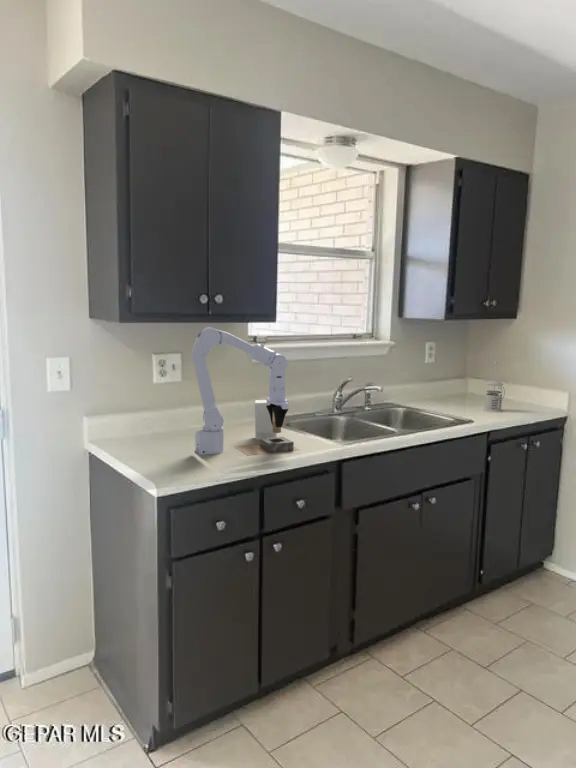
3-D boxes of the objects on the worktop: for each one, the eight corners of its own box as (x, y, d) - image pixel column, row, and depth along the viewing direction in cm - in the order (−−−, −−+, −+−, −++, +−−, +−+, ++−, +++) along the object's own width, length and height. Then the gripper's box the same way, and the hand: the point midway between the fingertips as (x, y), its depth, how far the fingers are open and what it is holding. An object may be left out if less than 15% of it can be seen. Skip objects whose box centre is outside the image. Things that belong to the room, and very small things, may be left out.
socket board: (247, 458, 200) (247, 446, 200) (233, 449, 213) (233, 438, 212) (300, 453, 209) (300, 441, 208) (283, 444, 221) (283, 433, 221)
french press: (478, 409, 301) (481, 360, 298) (494, 407, 307) (497, 360, 303) (493, 412, 293) (496, 362, 289) (509, 411, 298) (513, 361, 295)
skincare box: (276, 438, 230) (276, 399, 228) (276, 442, 224) (277, 402, 222) (254, 438, 230) (255, 399, 228) (254, 442, 224) (254, 402, 221)
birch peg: (274, 433, 207) (274, 410, 206) (271, 431, 210) (271, 409, 209) (282, 432, 209) (282, 410, 208) (278, 430, 211) (278, 408, 210)
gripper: (296, 390, 202) (296, 429, 204) (279, 384, 215) (278, 421, 217) (277, 391, 199) (277, 430, 201) (261, 385, 212) (261, 422, 214)
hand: (276, 425), depth 209 cm, fingers closed on birch peg, 3 cm apart
